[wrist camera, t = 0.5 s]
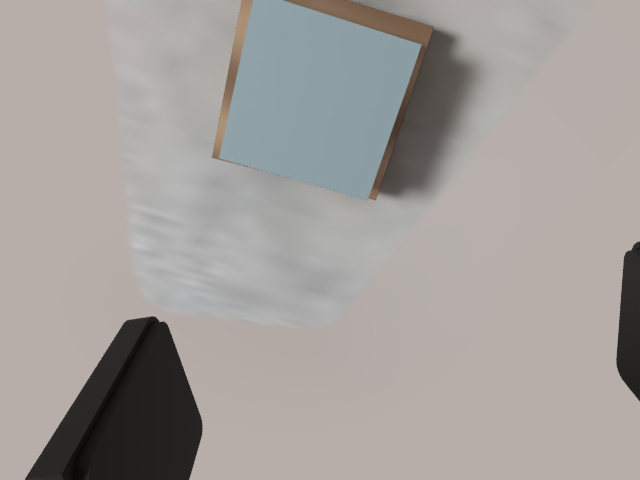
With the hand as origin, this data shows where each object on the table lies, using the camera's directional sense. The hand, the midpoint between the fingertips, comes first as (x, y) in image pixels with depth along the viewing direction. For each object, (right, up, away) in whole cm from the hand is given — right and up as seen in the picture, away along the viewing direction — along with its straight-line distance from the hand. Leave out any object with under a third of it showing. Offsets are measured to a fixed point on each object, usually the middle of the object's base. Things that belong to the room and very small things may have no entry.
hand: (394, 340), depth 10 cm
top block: (-2, +12, +23) cm, 26 cm away
